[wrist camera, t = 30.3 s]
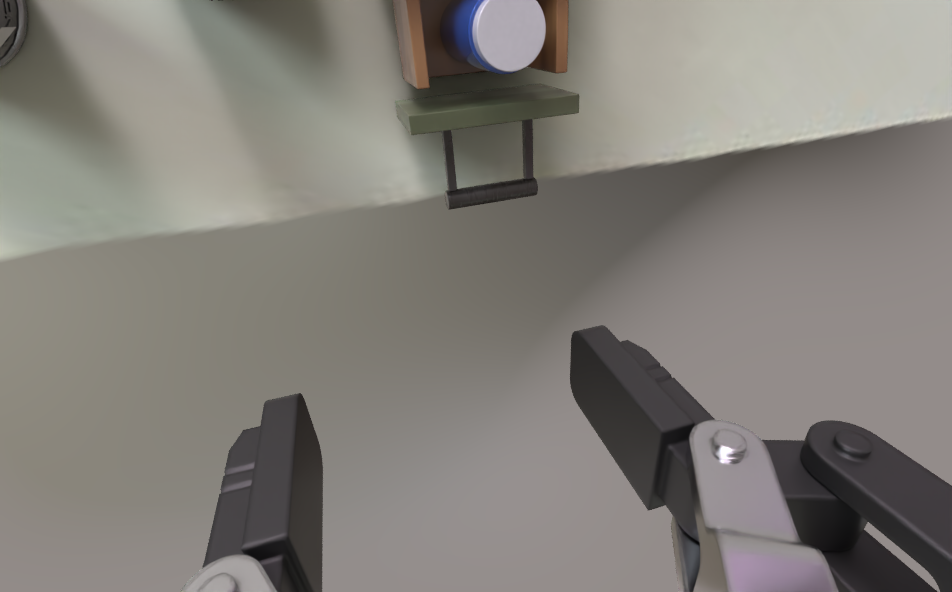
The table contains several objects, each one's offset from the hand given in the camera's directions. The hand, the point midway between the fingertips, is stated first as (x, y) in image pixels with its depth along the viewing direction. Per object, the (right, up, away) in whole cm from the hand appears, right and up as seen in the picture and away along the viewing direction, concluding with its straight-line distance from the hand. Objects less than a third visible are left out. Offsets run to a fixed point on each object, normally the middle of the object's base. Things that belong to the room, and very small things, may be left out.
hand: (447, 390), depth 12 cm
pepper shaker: (0, +21, +22) cm, 31 cm away
